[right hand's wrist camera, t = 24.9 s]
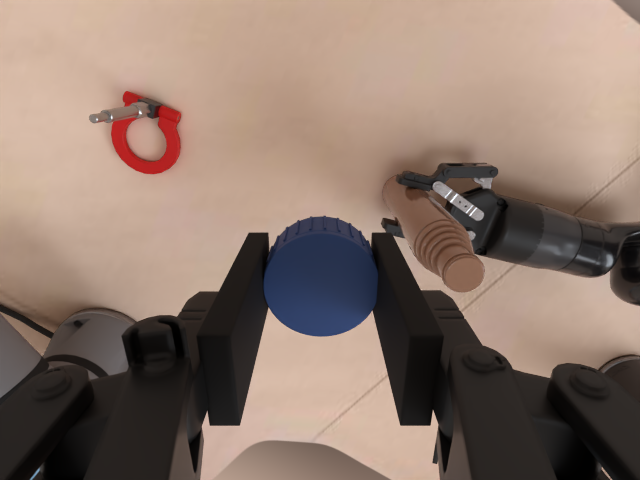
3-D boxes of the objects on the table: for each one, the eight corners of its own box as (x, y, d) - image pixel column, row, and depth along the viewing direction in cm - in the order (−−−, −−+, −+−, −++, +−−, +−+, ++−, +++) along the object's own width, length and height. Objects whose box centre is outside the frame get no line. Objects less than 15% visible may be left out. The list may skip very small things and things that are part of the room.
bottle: (426, 192, 49) (511, 275, 27) (398, 216, 50) (458, 315, 28) (402, 166, 48) (471, 231, 26) (375, 192, 49) (417, 275, 27)
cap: (311, 192, 13) (310, 207, 12) (396, 256, 14) (406, 279, 13) (247, 273, 15) (237, 297, 13) (330, 327, 16) (331, 356, 14)
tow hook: (174, 181, 49) (189, 114, 45) (124, 215, 37) (140, 128, 34) (111, 157, 48) (122, 86, 44) (39, 184, 36) (46, 91, 33)
